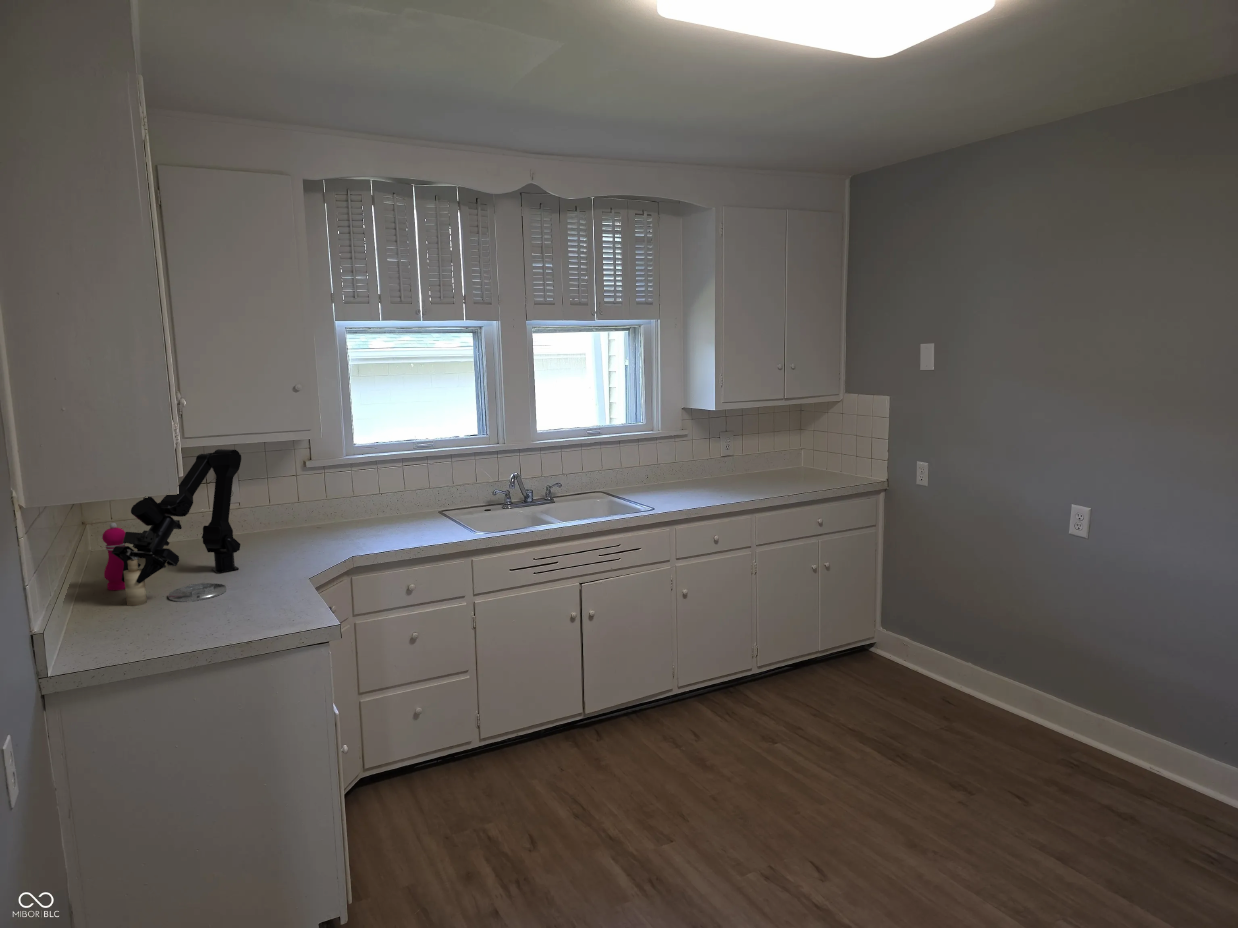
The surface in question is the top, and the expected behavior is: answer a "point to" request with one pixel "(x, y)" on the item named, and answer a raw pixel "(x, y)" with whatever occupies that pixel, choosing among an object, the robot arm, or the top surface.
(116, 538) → the pepper mill
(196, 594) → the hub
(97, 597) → the top surface
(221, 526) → the robot arm
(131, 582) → the knob
